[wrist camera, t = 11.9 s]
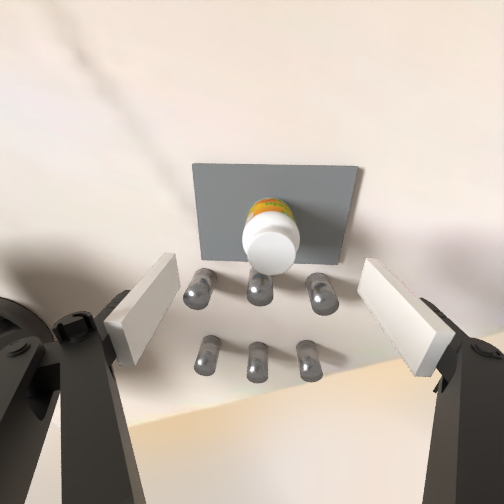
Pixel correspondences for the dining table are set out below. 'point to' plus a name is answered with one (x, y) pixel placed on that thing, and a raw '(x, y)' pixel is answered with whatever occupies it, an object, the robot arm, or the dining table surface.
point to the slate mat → (276, 186)
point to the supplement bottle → (271, 236)
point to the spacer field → (260, 295)
